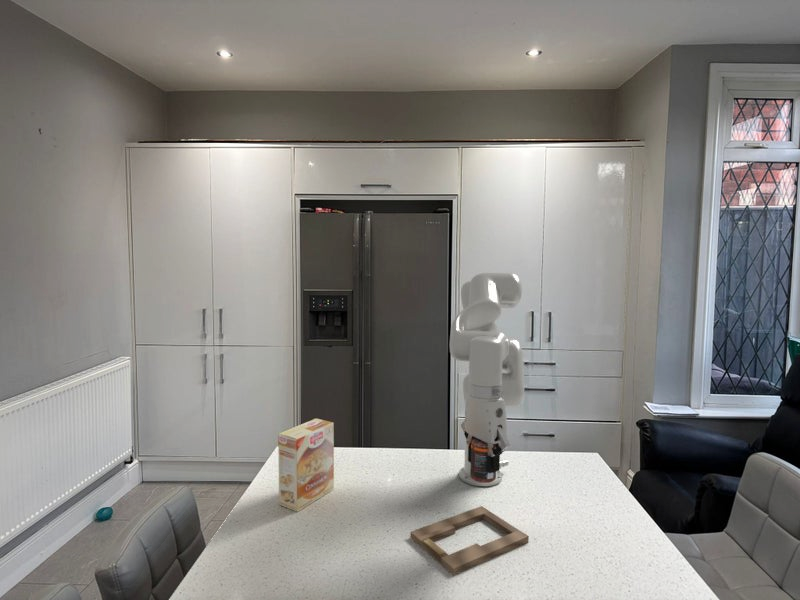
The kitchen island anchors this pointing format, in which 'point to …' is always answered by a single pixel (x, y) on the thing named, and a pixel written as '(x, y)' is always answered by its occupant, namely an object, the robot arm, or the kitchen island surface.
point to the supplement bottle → (480, 461)
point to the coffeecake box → (306, 463)
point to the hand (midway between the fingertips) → (483, 465)
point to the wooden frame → (472, 553)
